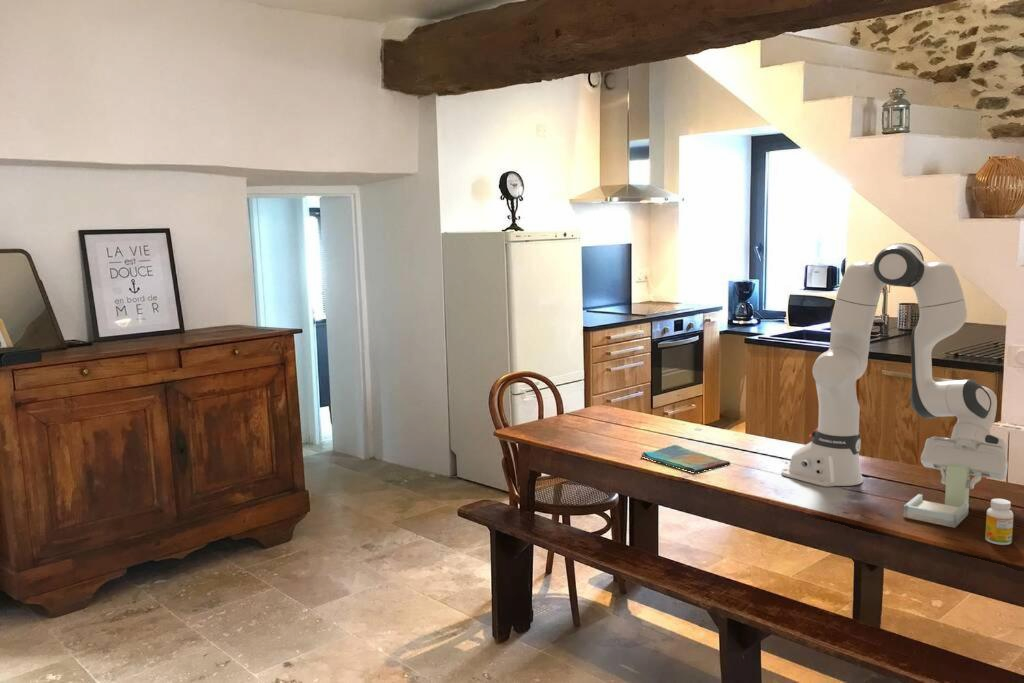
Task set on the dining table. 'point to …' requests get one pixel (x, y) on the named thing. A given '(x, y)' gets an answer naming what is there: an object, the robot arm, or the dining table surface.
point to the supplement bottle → (999, 522)
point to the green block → (957, 484)
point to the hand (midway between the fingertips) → (956, 485)
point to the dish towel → (685, 459)
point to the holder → (935, 512)
